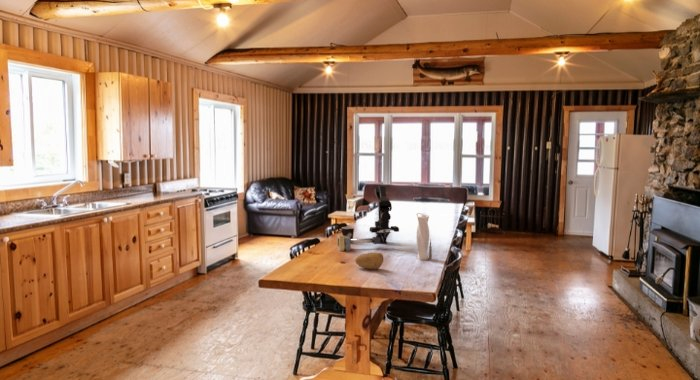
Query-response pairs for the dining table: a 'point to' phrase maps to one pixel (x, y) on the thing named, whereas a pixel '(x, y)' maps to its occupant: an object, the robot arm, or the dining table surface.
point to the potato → (370, 260)
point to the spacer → (340, 242)
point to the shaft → (366, 240)
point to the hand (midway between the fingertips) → (384, 242)
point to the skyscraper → (423, 238)
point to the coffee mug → (347, 231)
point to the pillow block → (347, 243)
